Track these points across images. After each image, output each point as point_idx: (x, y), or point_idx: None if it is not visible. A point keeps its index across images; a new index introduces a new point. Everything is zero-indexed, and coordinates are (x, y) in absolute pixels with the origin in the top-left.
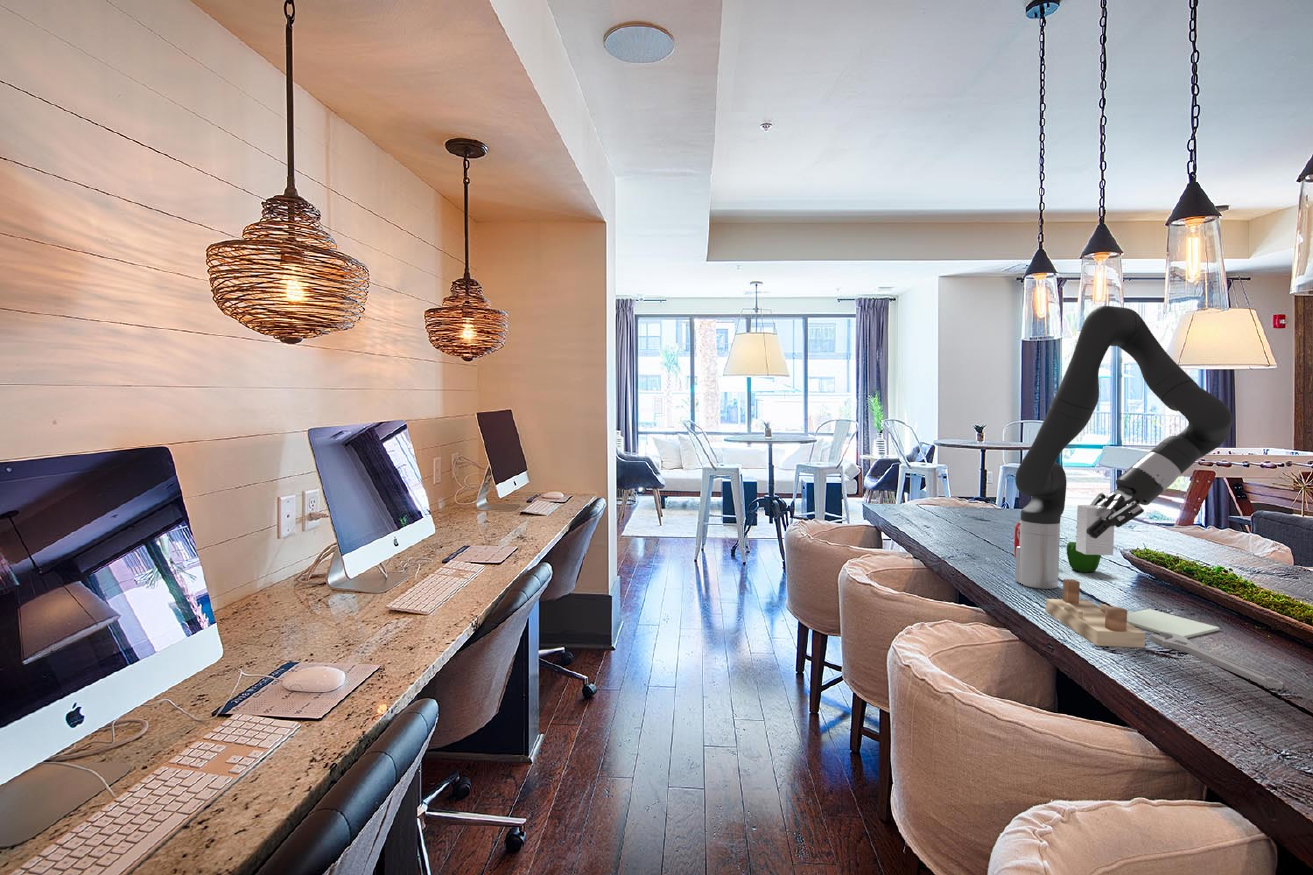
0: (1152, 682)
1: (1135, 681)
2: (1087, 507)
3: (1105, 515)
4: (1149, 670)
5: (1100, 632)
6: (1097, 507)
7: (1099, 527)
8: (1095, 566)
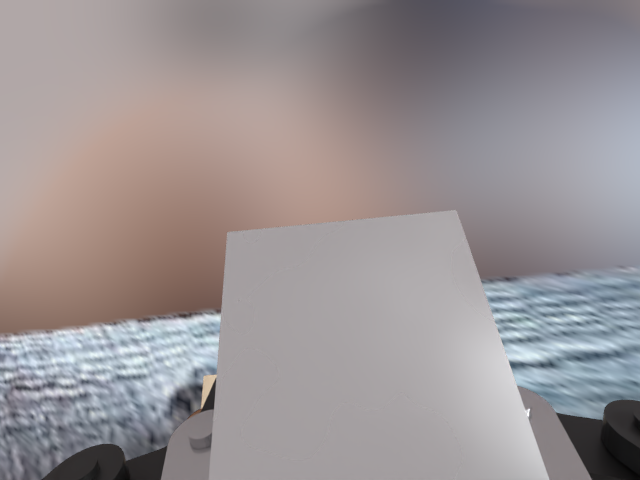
0: (21, 400)
1: (33, 368)
2: (275, 250)
3: (207, 460)
4: (73, 429)
5: (204, 383)
6: (294, 385)
7: (215, 383)
8: None
